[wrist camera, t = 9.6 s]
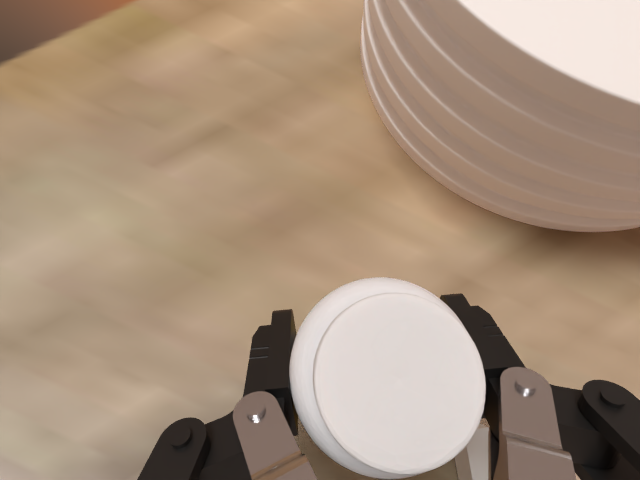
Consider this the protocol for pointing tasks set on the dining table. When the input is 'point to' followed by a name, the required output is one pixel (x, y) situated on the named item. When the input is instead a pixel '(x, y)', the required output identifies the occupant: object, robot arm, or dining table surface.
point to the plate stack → (515, 103)
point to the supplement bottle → (386, 379)
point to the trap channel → (474, 457)
